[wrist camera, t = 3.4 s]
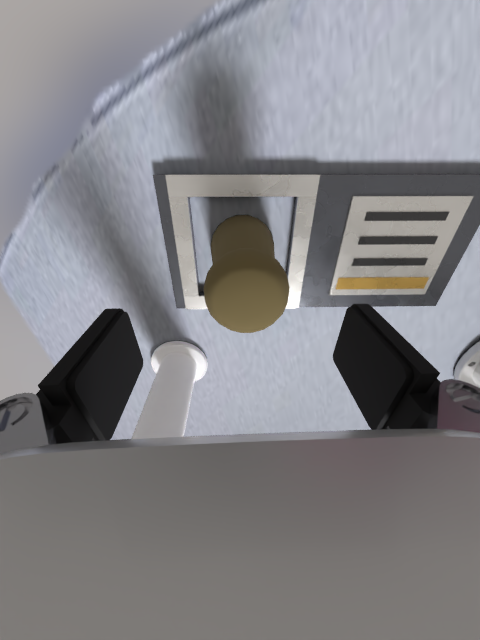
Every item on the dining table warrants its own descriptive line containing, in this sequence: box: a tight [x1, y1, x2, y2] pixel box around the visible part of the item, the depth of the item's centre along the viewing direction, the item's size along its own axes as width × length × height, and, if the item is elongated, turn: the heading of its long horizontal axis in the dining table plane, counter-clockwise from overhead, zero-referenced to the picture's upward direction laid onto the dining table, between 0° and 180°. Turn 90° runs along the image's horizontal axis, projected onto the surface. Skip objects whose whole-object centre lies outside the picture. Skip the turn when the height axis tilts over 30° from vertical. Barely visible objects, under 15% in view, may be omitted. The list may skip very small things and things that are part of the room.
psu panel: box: [153, 174, 480, 309], centre depth 21 cm, size 28×12×1 cm, turn 90°
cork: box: [204, 215, 290, 333], centre depth 17 cm, size 6×6×11 cm
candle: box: [131, 341, 207, 439], centre depth 19 cm, size 7×7×25 cm
